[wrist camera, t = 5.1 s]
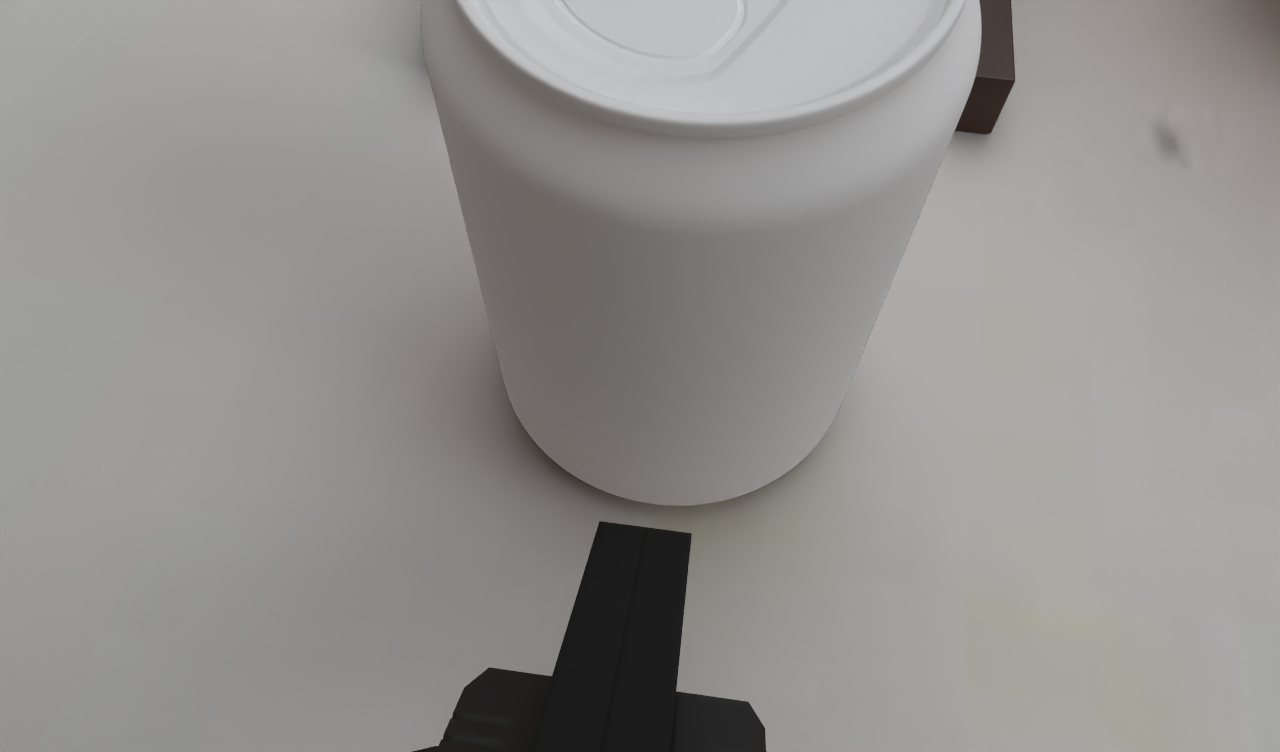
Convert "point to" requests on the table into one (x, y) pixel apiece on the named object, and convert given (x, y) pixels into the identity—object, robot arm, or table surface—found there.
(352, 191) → the table surface
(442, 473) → the table surface
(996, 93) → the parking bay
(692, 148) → the beverage can
